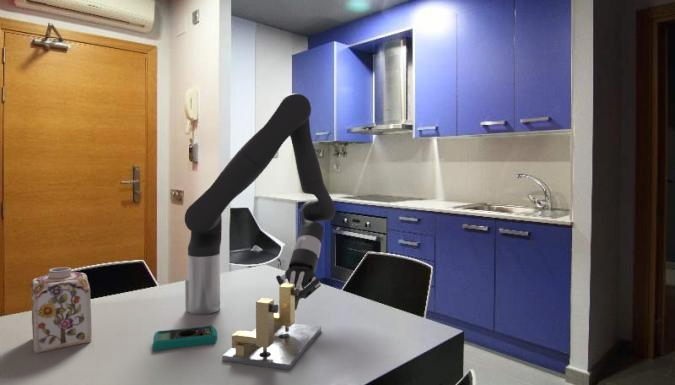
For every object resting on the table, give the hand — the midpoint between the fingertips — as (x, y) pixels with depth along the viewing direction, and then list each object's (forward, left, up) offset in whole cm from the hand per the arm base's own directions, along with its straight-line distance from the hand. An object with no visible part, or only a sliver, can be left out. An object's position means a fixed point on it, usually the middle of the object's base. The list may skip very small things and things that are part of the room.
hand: (289, 310), depth 110 cm
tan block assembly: (-2, -7, -5) cm, 9 cm away
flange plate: (-1, -7, -6) cm, 9 cm away
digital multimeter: (-23, -11, -7) cm, 27 cm away
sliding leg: (-2, -2, -5) cm, 6 cm away
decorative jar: (-53, -19, -7) cm, 57 cm away
